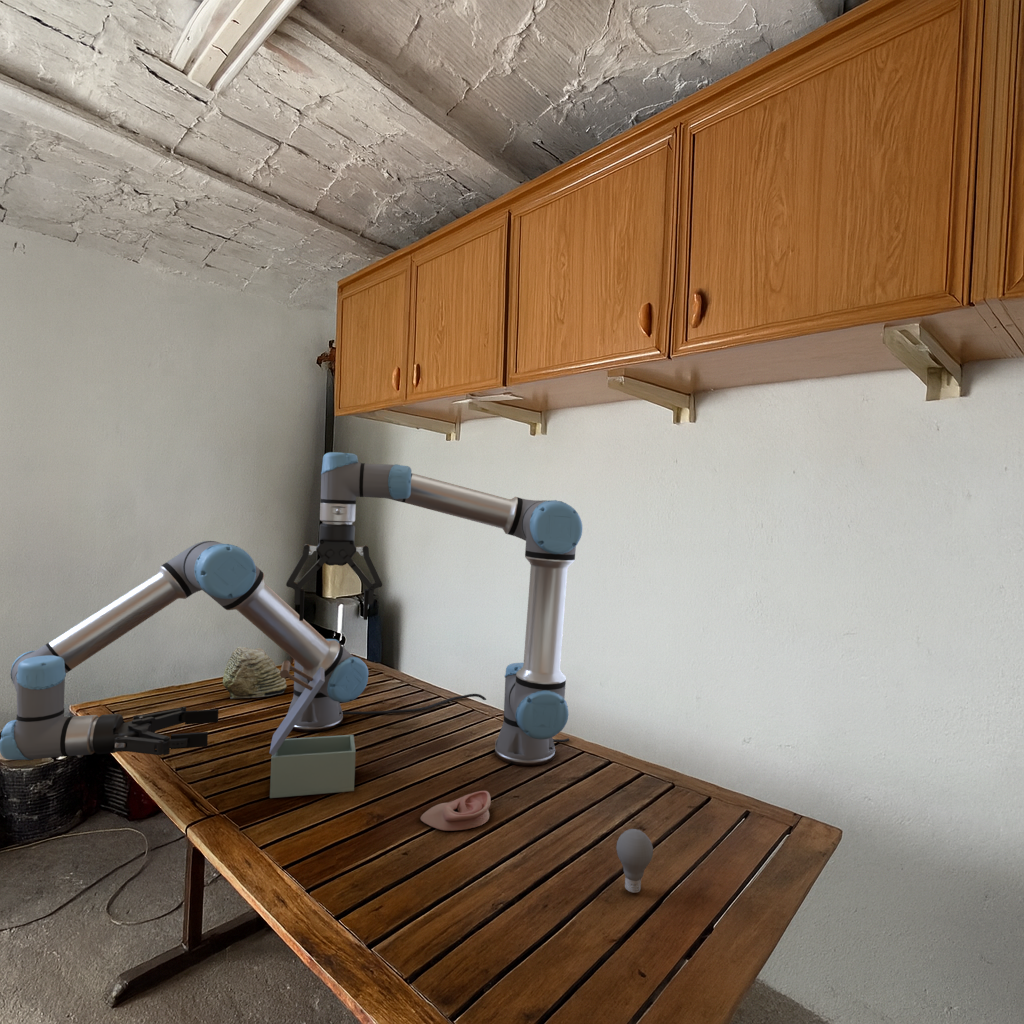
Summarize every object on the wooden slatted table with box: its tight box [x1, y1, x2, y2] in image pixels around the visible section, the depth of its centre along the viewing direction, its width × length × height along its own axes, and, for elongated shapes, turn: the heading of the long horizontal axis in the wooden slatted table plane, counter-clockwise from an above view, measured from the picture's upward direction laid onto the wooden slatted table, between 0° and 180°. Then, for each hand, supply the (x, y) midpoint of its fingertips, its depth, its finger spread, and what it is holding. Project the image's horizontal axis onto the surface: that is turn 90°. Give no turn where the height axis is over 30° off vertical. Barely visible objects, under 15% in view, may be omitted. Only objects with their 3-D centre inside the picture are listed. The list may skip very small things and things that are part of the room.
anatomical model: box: [419, 790, 492, 832], centre depth 127 cm, size 13×4×12 cm
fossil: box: [222, 646, 288, 699], centre depth 198 cm, size 9×18×15 cm, turn 132°
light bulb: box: [615, 828, 654, 894], centre depth 106 cm, size 6×6×10 cm
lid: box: [268, 659, 325, 756], centre depth 137 cm, size 18×10×9 cm
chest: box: [269, 734, 357, 799], centre depth 139 cm, size 17×10×9 cm, turn 107°
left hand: (213, 726), depth 133 cm, fingers open, 13 cm apart
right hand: (333, 619), depth 140 cm, fingers open, 13 cm apart
